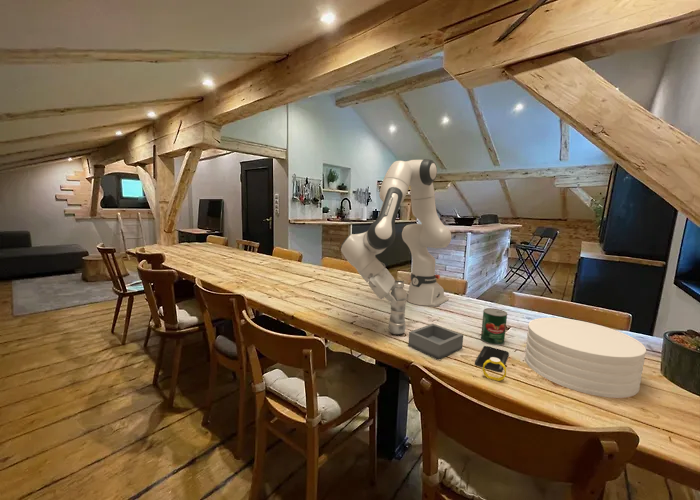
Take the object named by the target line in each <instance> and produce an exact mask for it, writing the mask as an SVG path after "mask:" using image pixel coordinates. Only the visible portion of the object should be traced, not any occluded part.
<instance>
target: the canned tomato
mask: <svg viewBox="0 0 700 500" xmlns="http://www.w3.org/2000/svg"><path fill="white" fill-rule="evenodd" d="M482 311H483V313H482V322H481V323H482V324H481V332H480V333H481V334H480V340H481V341H482V342H483V343H485V344H488V345H492V346H502V345H504V344H505V337H506V328H507V318H508V312H506V311H505V310H503V309H500V308H491V307H489V308H484V309H483V310H482Z"/></svg>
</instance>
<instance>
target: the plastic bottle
mask: <svg viewBox="0 0 700 500" xmlns="http://www.w3.org/2000/svg"><path fill="white" fill-rule="evenodd" d="M394 287H395V288H394V289H393V290H391V291H390V294H391V296H393V297H394V298H395V299H396V300H397V303H396V304H395V305H393V304H392V303H391V302H390V314H389V315H390V316H389V317H390V318H389V320H388V331H389V333H391V334H393V335H399V336H400V335H403V334H404V333H405V331H406V328H407V327H406V325H407V324H406V317H405V316H406V314H405V313H406V311H405V310H406V305H407V299H408V298H407V295H408V294H407V292H406V290H405V289H404V288H405V281H403V280H395V282H394Z"/></svg>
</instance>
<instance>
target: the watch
mask: <svg viewBox="0 0 700 500" xmlns="http://www.w3.org/2000/svg"><path fill="white" fill-rule="evenodd" d="M489 362H491V363H494V364H500V365H501V366H502V367H503V370H504V373H503V375H502V376H500V377H495V376H492V375H489V374H488V373H487V372H486V370H485V369H486V367H485V365H486V364H487V363H489ZM484 367H485V368H484ZM482 372H483V375H484V376H485V377H486V378H487V379H488V380H492V381H493V380H494V381H496V382H501V381H503V380H504V379H505V377H506V376H507V367H506V365H505V366H504V364H503V363H502V362H501V361H500V359H498V358H495V357H491V358H490V359H489V360H486V362H485V363H484V364H483V368H482Z"/></svg>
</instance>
